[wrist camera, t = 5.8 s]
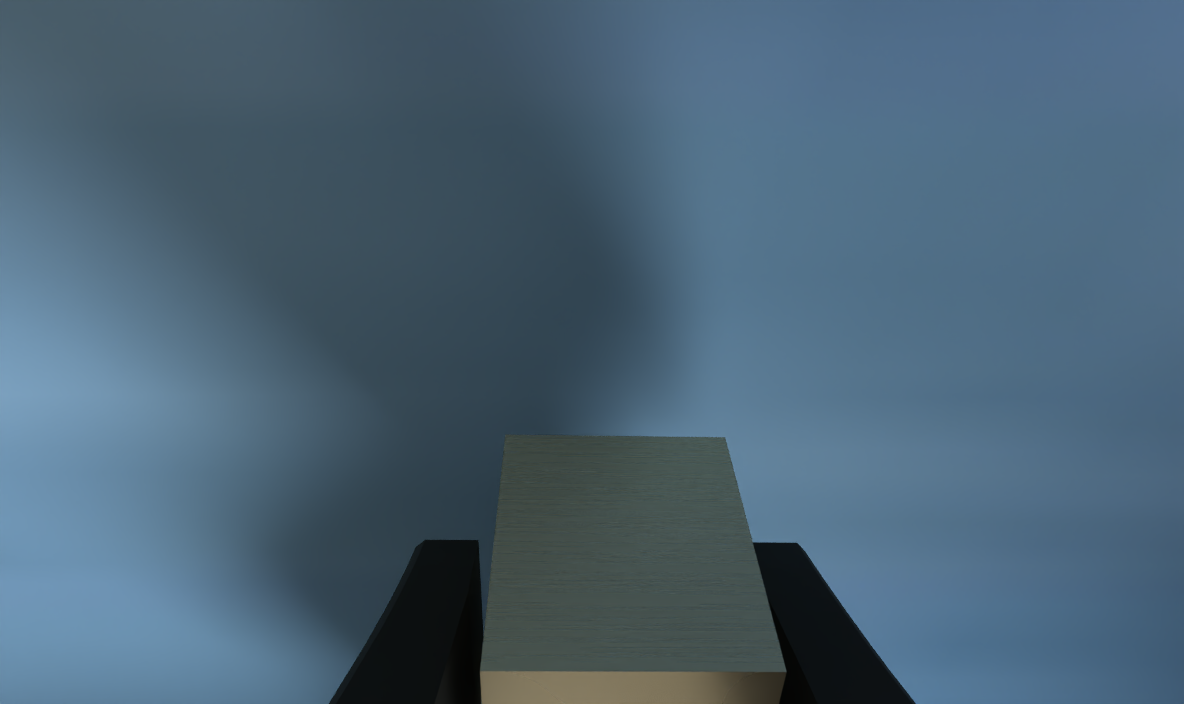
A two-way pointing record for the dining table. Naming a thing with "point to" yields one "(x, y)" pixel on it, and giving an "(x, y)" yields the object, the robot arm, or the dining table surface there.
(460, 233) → the dining table surface
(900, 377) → the dining table surface
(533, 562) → the gold trophy
